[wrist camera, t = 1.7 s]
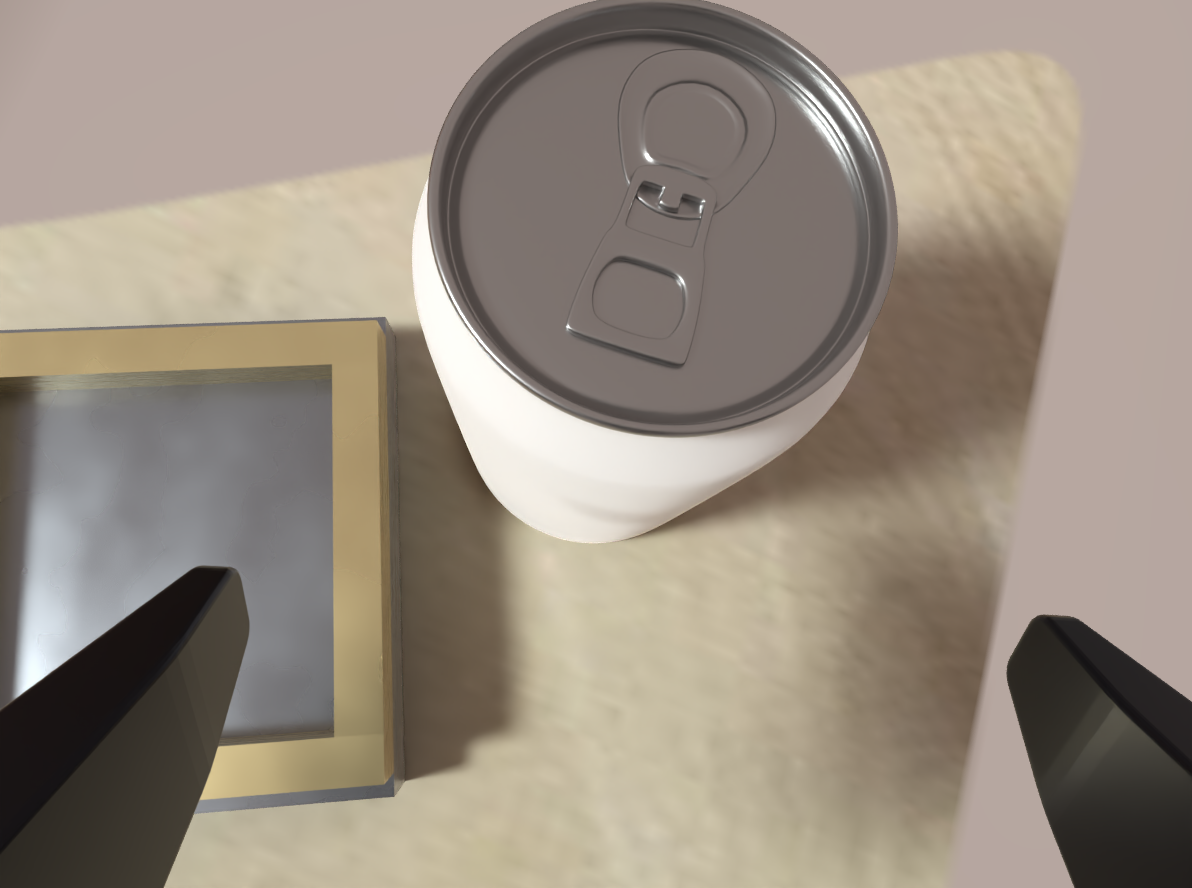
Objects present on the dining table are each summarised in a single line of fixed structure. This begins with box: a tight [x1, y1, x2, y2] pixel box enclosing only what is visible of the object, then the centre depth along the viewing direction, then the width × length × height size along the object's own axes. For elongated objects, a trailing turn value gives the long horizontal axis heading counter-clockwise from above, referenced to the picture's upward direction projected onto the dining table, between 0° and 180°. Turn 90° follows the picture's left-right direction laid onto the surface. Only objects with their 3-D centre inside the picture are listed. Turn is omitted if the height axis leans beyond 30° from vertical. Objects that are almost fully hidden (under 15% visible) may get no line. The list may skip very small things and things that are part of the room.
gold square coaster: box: [0, 317, 405, 814], centre depth 19 cm, size 11×10×3 cm
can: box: [412, 0, 898, 543], centre depth 15 cm, size 6×6×12 cm
